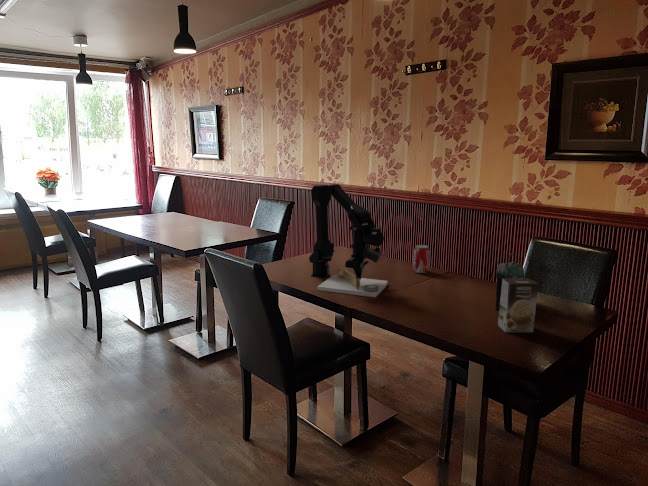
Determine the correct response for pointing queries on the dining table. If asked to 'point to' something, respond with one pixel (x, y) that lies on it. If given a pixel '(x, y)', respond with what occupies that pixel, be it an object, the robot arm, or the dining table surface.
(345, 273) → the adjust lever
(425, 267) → the soda can
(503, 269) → the ceramic cat
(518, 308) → the coffee box
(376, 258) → the robot arm
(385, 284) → the base
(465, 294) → the dining table surface
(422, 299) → the dining table surface
